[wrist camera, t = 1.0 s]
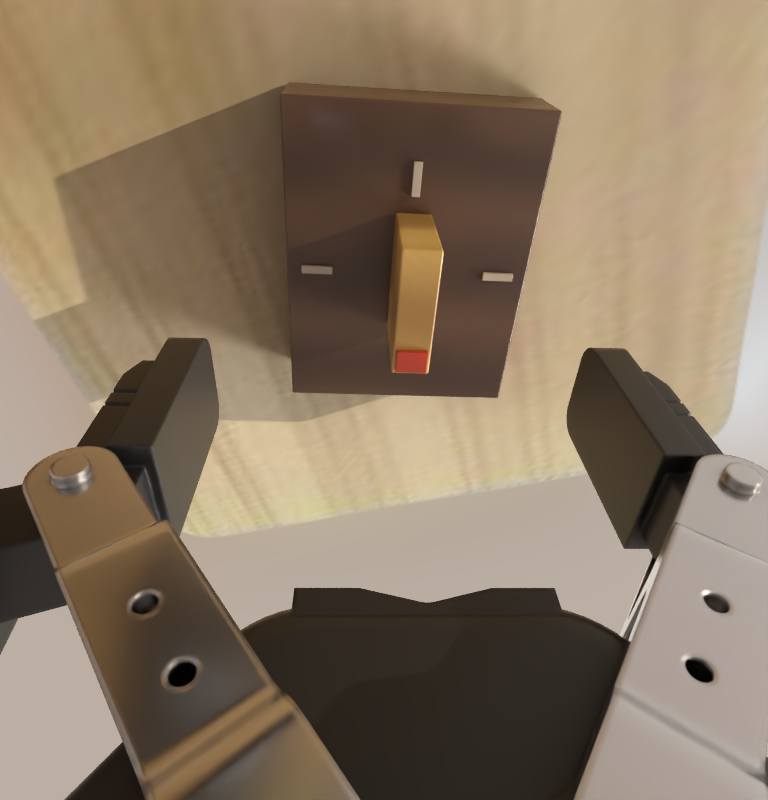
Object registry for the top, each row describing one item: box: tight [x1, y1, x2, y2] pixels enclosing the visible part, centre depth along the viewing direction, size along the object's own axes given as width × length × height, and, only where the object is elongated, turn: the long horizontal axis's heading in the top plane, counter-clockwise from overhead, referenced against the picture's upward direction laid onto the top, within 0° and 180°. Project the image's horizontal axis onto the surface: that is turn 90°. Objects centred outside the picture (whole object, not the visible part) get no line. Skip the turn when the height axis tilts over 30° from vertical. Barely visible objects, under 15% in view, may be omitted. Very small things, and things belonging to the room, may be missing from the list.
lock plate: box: [280, 83, 562, 398], centre depth 27 cm, size 14×11×3 cm
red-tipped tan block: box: [387, 213, 444, 374], centre depth 24 cm, size 6×2×4 cm, turn 176°
